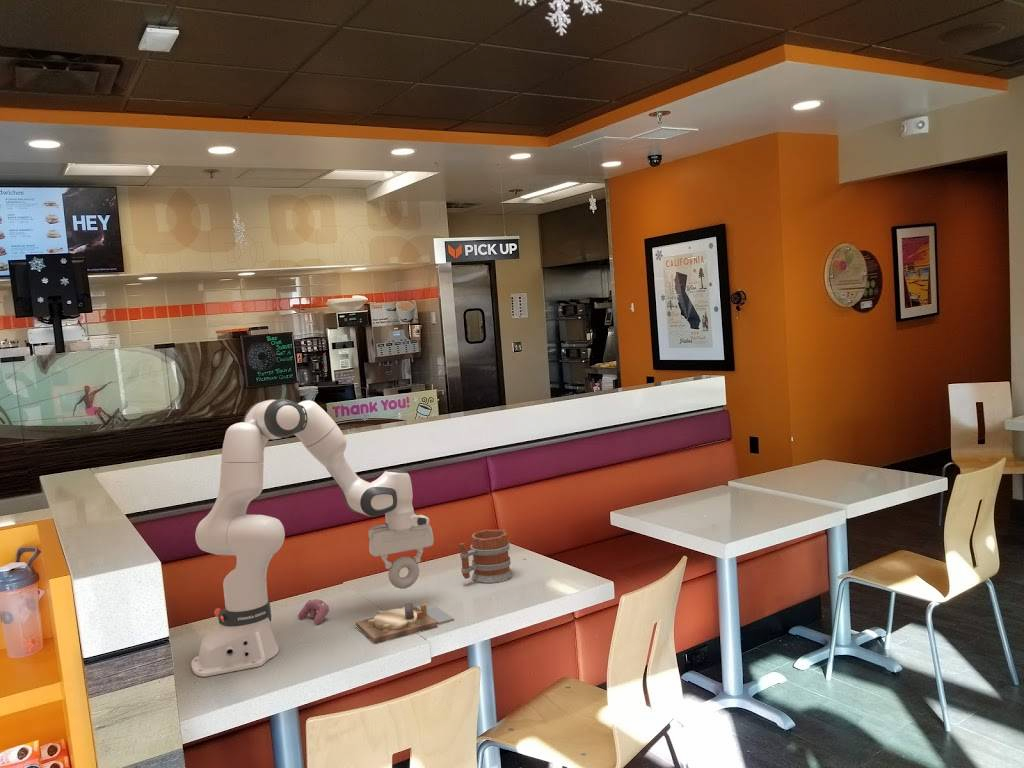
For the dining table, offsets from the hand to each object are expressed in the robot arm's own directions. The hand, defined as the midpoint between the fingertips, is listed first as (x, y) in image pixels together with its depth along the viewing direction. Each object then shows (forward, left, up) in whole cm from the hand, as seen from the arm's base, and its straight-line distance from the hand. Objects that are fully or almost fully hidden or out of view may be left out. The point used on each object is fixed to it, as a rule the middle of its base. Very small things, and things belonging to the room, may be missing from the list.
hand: (403, 565), depth 250 cm
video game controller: (-27, +8, -13) cm, 31 cm away
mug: (+31, +7, -13) cm, 35 cm away
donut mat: (+4, -15, -13) cm, 20 cm away
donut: (0, 0, -7) cm, 7 cm away
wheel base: (-9, -15, -13) cm, 22 cm away
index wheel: (-9, -15, -11) cm, 21 cm away
